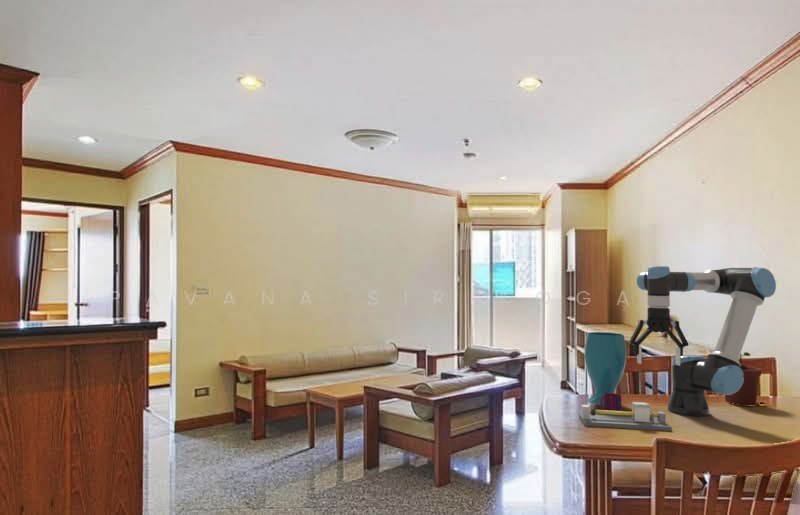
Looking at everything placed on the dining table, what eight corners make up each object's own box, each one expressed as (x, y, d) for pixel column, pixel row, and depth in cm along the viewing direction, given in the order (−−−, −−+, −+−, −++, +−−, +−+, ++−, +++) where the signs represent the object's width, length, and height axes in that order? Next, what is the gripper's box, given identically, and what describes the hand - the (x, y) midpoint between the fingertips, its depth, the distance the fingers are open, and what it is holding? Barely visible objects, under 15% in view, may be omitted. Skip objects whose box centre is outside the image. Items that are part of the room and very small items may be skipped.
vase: (586, 405, 233) (587, 335, 234) (582, 396, 250) (582, 331, 251) (629, 408, 229) (629, 336, 230) (621, 399, 246) (622, 332, 247)
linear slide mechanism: (661, 422, 207) (661, 406, 207) (671, 431, 195) (671, 414, 195) (579, 417, 211) (579, 402, 211) (585, 425, 199) (585, 409, 200)
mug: (624, 413, 220) (625, 396, 221) (604, 414, 217) (605, 397, 217) (613, 409, 227) (613, 392, 227) (593, 410, 223) (593, 394, 224)
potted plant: (708, 400, 248) (709, 345, 249) (738, 396, 258) (738, 343, 258) (748, 409, 232) (748, 350, 233) (778, 404, 242) (777, 348, 243)
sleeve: (645, 419, 204) (645, 402, 204) (649, 422, 200) (649, 405, 200) (631, 418, 205) (631, 401, 205) (635, 421, 200) (635, 404, 201)
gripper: (690, 307, 205) (690, 363, 205) (621, 305, 209) (620, 361, 208) (698, 308, 198) (698, 367, 197) (626, 306, 202) (626, 364, 201)
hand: (658, 364), depth 203 cm, fingers open, 13 cm apart
